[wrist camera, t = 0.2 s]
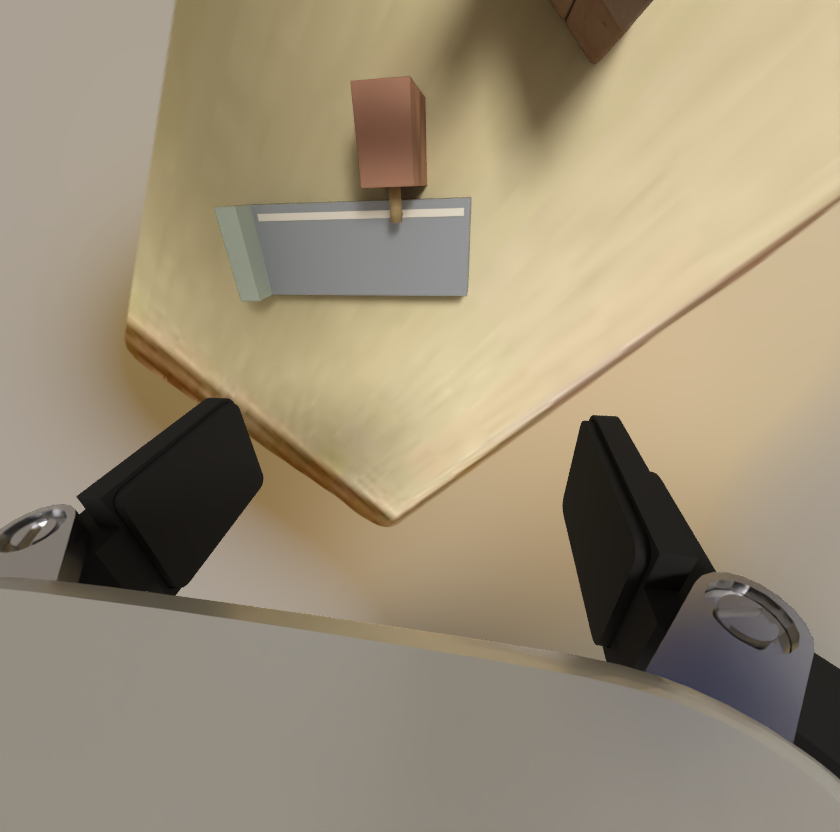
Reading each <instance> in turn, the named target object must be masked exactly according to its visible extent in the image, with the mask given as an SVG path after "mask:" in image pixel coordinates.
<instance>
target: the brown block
mask: <svg viewBox="0 0 840 832" xmlns="http://www.w3.org/2000/svg"><path fill="white" fill-rule="evenodd" d="M350 82H351V92H352V101H353V111H354V121H355V131H356V141H357V151H358V161H359V170H360V180H361V188H378V187H388V192H389V207H390V222H391V223H398V222H402V216H403V212H402V203H401V187H405V186H427V163H426V110H425V96H424V95H423V94H422V92H421V91H420V89H419V88H418V87H417V85H416V84H415V83H414V81H413V80H412V78H411V77H410V76H404V77H392V78H380V79H368V80H357V81H350Z"/></svg>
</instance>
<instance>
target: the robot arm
mask: <svg viewBox="0 0 840 832" xmlns="http://www.w3.org/2000/svg"><path fill="white" fill-rule="evenodd" d="M262 484H263V474H262V472H261V468H260V465H259V463H258V460H257V457H256V454H255V451H254V448H253V445H252V443H251V440H250V437H249V434H248V431H247V429H246V426H245V423H244V420H243V417H242V414H241V412H240V409H239V407H238V406H237V405H236V404H234V402H233V401H232V400H230V399H227V398H207V399H205V400H204V401H202V402H201V403H200V404H198V405H197V406H196V407H194V408H193V409H192V410H190V411H189V412H188V413H186V414H185V415H184V416H182V417H181V418H180V419H178V420H177V421H176V422H175V423H173V424H172V425H170V426H169V427H168V428H167V429H165V430H164V431H163V432H161V433H160V434H159V435H157V436H156V437H155V438H153V439H152V440H151V441H149V442H148V443H147V444H145V445H144V446H143V447H141V448H140V449H139V450H137V451H136V452H135V453H133V454H132V455H131V456H129V457H128V458H127V459H125V460H124V461H123V462H121V463H120V464H119V465H118V466H116V467H115V468H113V469H112V470H111V471H109V472H108V473H107V474H106V475H104V476H103V477H102V478H100V479H99V480H97V482H95V483H93V484H92V485H91V486H90V487H88V488H87V489H86V490H84V491H83V492H82V493H80V494H79V495H78V496H77V498H78V499H79V501H80V502H81V503H82V504H83V506H84V507H85V510H84V511H83V512H82V513H80V514H78V512H77V511H76V510H75V509H74V508H73V507H72V506H70V505H65V504H61V505H51V506H47V507H44V508H40V509H37V510H35V511H32V512H30V513H27V514H25V515H23V516H21V517H19V518H17V519H15V520H14V521H12V522H10V523H9V524H7V525H6V526H4V527H3V528H1V529H0V832H840V669H839V668H837V667H836V666H834V665H833V664H831V663H829V662H828V661H826V660H825V659H823V658H822V657H820V656H819V655H817V654H816V653H814V642H813V637H812V635H811V633H810V631H809V629H808V627H807V625H806V623H805V622H804V621H803V619H802V618H801V617H800V616H799V615H798V613H797V612H796V611H795V610H794V609H793V608H792V607H791V606H790V605H789V604H788V603H786V602H785V601H784V600H783V599H782V598H781V597H780V596H778V595H777V594H775V593H773V592H772V591H770V590H769V589H767V588H766V587H764V586H762V585H761V584H759V583H756V582H754V581H752V580H750V579H747V578H745V577H742V576H739V575H735V574H731V573H722V572H716V571H715V569H714V568H713V566H712V564H711V562H710V561H709V559H708V557H707V556H706V554H705V552H704V551H703V549H702V547H701V546H700V544H699V542H698V541H697V539H696V538H695V536H694V534H693V532H692V530H691V529H690V527H689V525H688V524H687V522H686V521H685V519H684V517H683V515H682V514H681V512H680V510H679V509H678V507H677V505H676V504H675V502H674V500H673V499H672V497H671V495H670V493H669V492H668V490H667V489H666V487H665V485H664V483H663V482H662V480H661V479H660V477H659V476H658V475H657V474H656V473H654V472H650V471H649V469H648V467H647V466H646V464H645V462H644V461H643V459H642V457H641V455H640V454H639V452H638V450H637V448H636V447H635V445H634V443H633V441H632V440H631V438H630V436H629V434H628V433H627V431H626V429H625V427H624V426H623V424H622V422H621V420H620V419H619V418H618V417H616V416H597V415H593V416H591V417H590V419H589V421H582V423H581V426H580V430H579V434H578V438H577V442H576V447H575V451H574V456H573V459H572V464H571V468H570V472H569V476H568V481H567V485H566V489H565V493H564V498H563V514H564V519H565V523H566V527H567V532H568V536H569V540H570V545H571V549H572V553H573V557H574V561H575V565H576V570H577V575H578V578H579V583H580V587H581V592H582V596H583V600H584V605H585V609H586V613H587V617H588V621H589V626H590V630H591V634H592V638H593V641H594V643H595V644H596V645H600V646H603V650H604V654H605V658H606V662H605V661H600V660H595V659H591V658H586V657H580V656H576V655H572V654H565V653H560V652H554V651H547V650H541V649H536V648H530V647H523V646H516V645H511V644H505V643H499V642H492V641H487V640H480V639H474V638H468V637H461V636H454V635H446V634H440V633H433V632H426V631H419V630H413V629H406V628H399V627H393V626H386V625H378V624H371V623H365V622H358V621H352V620H344V619H338V618H330V617H324V616H317V615H310V614H302V613H295V612H288V611H281V610H274V609H267V608H259V607H253V606H246V605H239V604H231V603H224V602H216V601H210V600H202V599H195V598H188V597H181V596H175V595H176V594H177V593H178V591H179V590H180V589H181V588H182V587H184V586H186V585H187V584H188V583H189V582H190V581H191V579H192V578H193V577H194V575H195V574H196V573H197V571H198V570H199V569H200V568H201V566H202V565H203V564H204V562H205V561H206V560H207V558H208V557H209V556H210V554H211V553H212V552H213V550H214V549H215V548H216V546H217V545H218V543H219V542H220V541H221V540H222V538H223V537H224V536H225V534H226V533H227V532H228V530H229V529H230V527H231V526H232V525H233V524H234V522H235V521H236V520H237V518H238V517H239V516H240V514H241V513H242V512H243V510H244V509H245V508H246V506H247V505H248V504H249V502H250V501H251V500H252V498H253V497H254V496H255V494H256V493H257V492H258V491H259V489H260V488H261V486H262ZM146 591H147V592H146Z"/></svg>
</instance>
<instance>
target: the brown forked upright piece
mask: <svg viewBox="0 0 840 832" xmlns="http://www.w3.org/2000/svg"><path fill="white" fill-rule="evenodd" d="M652 1H653V0H550V2H551V3H552V5H553V6H554V8H555V9H556V11H557V12H558V14H559V15H560V17H561V18H563V19H565V18H566V17H567V20H566V24H567V27H568V29H569V30H570V32H571V33H572V34H573V36H574V37H575V39H576V40H577V42H578V43H579V45H580V46H581V48H582V49H583V51H584V52H585V54H586V55H587V57H588V58H589V60H590V61H591V62H592V63H594V64H595V63H597V62H599V61H600V59H601V58H602V57H603V56H604V55H605V54H606V53H607V52H608V51H609V50H610V48H611V47H612V46H613V45H614V44H615V43H616V42H617V41H618V40H619V39H620V37H621V36H622V35H623V34H624V33H625V32H626V31H627V30H628V29H629V27H630V26H631V25H632V24H633V23H634V22H635V21H636V19H637V18H638V17H639V16H640V15H641V14H642V13H643V11H644V10H645V9H646V8H647V7H648V6H649V5H650V3H651V2H652Z"/></svg>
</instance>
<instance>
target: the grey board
mask: <svg viewBox="0 0 840 832" xmlns="http://www.w3.org/2000/svg"><path fill="white" fill-rule="evenodd" d="M401 203H402V212H403V216H402V222H398V223H391V222H390V207H389V200H373V201H343V202H314V203H284V204H254V205H238V206H226V207H214V210H215V213H216V217H217V220H218V223H219V227H220V230H221V234H222V237H223V240H224V244H225V247H226V251H227V254H228V257H229V261H230V264H231V268H232V271H233V275H234V278H235V281H236V285H237V288H238V292H239V295H240V298H241V301H261V300H263V299H265V298H267V297H269V296H271V295H403V296H467V292H468V277H469V250H470V223H471V197H461V198H432V199H402V200H401Z"/></svg>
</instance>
